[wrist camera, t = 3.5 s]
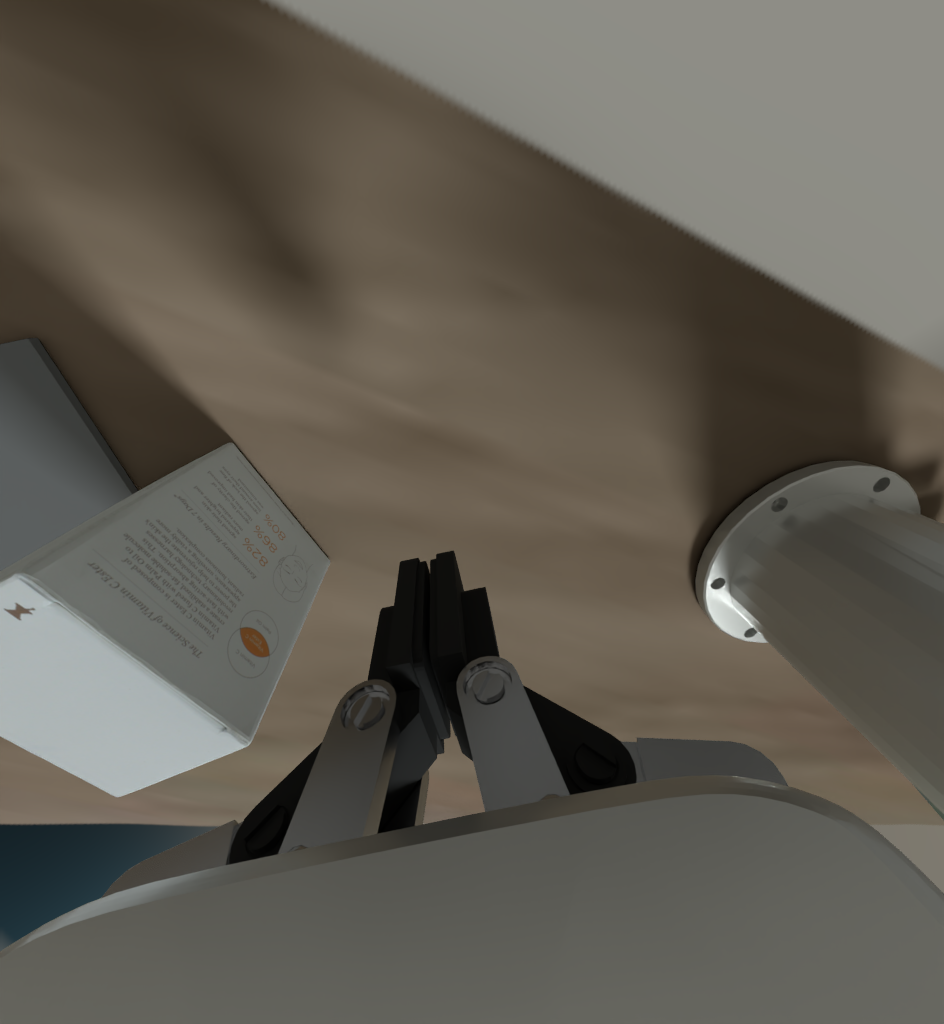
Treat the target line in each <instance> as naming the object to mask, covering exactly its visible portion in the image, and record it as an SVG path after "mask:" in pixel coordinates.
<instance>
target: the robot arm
mask: <svg viewBox="0 0 944 1024" xmlns="http://www.w3.org/2000/svg"><path fill="white" fill-rule="evenodd" d="M920 514H921V509H920V505H919V501H918V498H917V494H916V493H915V491H914V490H913V488H912V487H911V485H910V484H909V482H908V481H906V480H905V479H903V478H902V477H901V476H899V475H898V474H896V473H895V472H892V471H889V470H886V469H884V468H881V467H878V466H875V465H873V464H868V463H863V462H858V461H831V462H825V463H820V464H815V465H811V466H808V467H805V468H802V469H800V470H797V471H794V472H791V473H788V474H787V475H785V476H783V477H781V478H779V479H777V480H775V481H773V482H771V483H769V484H767V485H766V486H764V487H763V488H761V489H760V490H759V491H757V492H756V493H754V494H753V495H751V496H750V497H749V498H747V499H746V500H745V501H744V502H743V503H741V504H740V505H739V506H738V507H737V508H736V509H735V510H734V511H733V512H732V513H730V514H729V515H728V517H727V518H726V519H725V520H724V521H723V523H722V524H721V525H720V526H719V527H718V529H717V530H716V531H715V533H714V534H713V536H712V538H711V539H710V541H709V542H708V544H707V546H706V547H705V549H704V552H703V554H702V557H701V559H700V562H699V564H698V569H697V574H696V580H695V584H696V596H697V599H698V601H699V604H700V607H701V609H702V610H703V611H704V613H705V614H706V615H707V617H708V618H709V619H710V620H711V621H712V622H713V623H714V624H715V625H716V626H717V627H718V628H719V629H720V630H721V631H723V632H725V633H726V634H728V635H730V636H731V637H734V638H737V639H740V640H744V641H751V642H760V643H765V642H768V643H769V644H770V645H771V646H773V647H774V648H775V649H776V650H777V651H778V652H779V653H780V654H781V655H782V656H783V657H784V658H785V659H786V660H787V661H788V662H789V663H790V664H791V665H792V666H793V667H794V668H795V669H796V670H797V671H798V672H799V673H800V674H801V675H802V676H803V677H804V678H805V679H806V680H807V681H808V682H809V683H810V684H811V685H812V686H813V687H814V688H815V689H816V690H817V691H818V692H819V693H820V694H821V695H823V696H824V697H825V698H826V699H827V700H828V701H829V702H830V703H831V704H832V705H833V706H834V707H835V708H836V709H837V710H838V711H839V712H840V713H841V714H842V715H843V716H844V717H845V718H846V719H847V720H848V721H849V722H850V723H851V724H852V725H853V726H854V727H855V728H856V729H857V730H858V731H859V732H860V733H861V734H862V735H863V736H864V737H865V738H866V739H867V740H868V741H869V742H870V743H871V744H873V745H874V746H875V747H876V748H877V749H878V750H879V751H880V752H881V753H882V754H883V755H884V756H885V757H886V758H887V759H888V760H889V761H890V762H891V763H892V764H893V765H894V766H895V767H896V768H897V769H898V770H899V771H900V772H901V773H902V774H903V775H904V776H905V777H906V778H907V779H908V780H909V781H910V782H911V783H912V784H913V785H914V786H915V787H916V788H917V789H918V790H919V791H920V792H921V793H923V794H924V795H925V796H926V797H927V798H928V799H929V800H930V801H931V802H932V803H933V804H934V805H935V806H936V807H937V808H938V809H939V810H940V811H941V812H942V813H943V814H944V524H943V523H940V522H938V521H935V520H933V519H930V518H928V517H925V516H923V515H920ZM450 721H451V724H452V727H453V730H454V733H455V735H456V736H457V739H458V742H459V745H460V748H461V750H462V753H463V754H464V755H466V756H467V757H468V758H470V759H471V760H472V761H473V762H474V766H475V770H476V774H477V778H478V783H479V787H480V791H481V795H482V799H483V804H484V808H485V812H482V813H477V814H472V815H467V816H462V817H457V818H452V819H448V820H443V821H438V822H433V823H428V824H423V820H424V813H425V806H426V799H427V791H428V784H429V771H428V769H429V767H430V766H431V765H432V764H433V762H434V761H435V760H436V759H437V754H441V753H444V739H446V738H450ZM0 1024H944V894H943V892H942V891H941V890H940V889H939V888H938V887H937V886H936V885H935V884H934V883H933V882H932V881H931V880H930V879H929V878H928V877H927V876H926V875H925V874H924V873H923V872H922V871H921V870H920V869H919V868H918V867H916V865H914V864H913V863H912V862H911V861H910V860H909V859H908V858H907V857H906V856H905V855H904V854H903V853H902V852H901V851H900V850H899V849H897V848H896V847H895V846H894V845H893V844H892V843H890V842H889V841H888V840H887V839H886V838H885V837H884V836H883V835H881V834H880V833H879V832H878V831H877V830H875V829H874V828H873V827H871V826H870V825H869V824H867V823H866V822H864V821H863V820H862V819H860V818H859V817H857V816H856V815H855V814H853V813H851V812H850V811H848V810H846V809H844V808H843V807H841V806H839V805H837V804H835V803H833V802H830V801H828V800H826V799H824V798H821V797H819V796H816V795H813V794H810V793H808V792H805V791H802V790H799V789H796V788H793V787H789V786H788V785H787V783H786V781H785V779H784V777H783V776H782V774H781V773H780V772H779V770H778V769H777V767H776V766H775V765H774V763H773V762H772V761H770V760H769V759H768V758H767V757H766V756H764V755H763V754H762V753H761V752H759V751H757V750H755V749H753V748H751V747H749V746H747V745H745V744H741V743H736V742H730V741H706V740H682V739H658V738H637V742H620V741H619V740H618V739H616V738H615V737H614V736H612V735H611V734H609V733H607V732H606V731H604V730H602V729H600V728H599V727H597V726H595V725H593V724H591V723H590V722H588V721H586V720H584V719H582V718H581V717H579V716H577V715H575V714H573V713H572V712H570V711H568V710H566V709H564V708H563V707H561V706H559V705H557V704H556V703H554V702H552V701H550V700H548V699H547V698H545V697H543V696H541V695H539V694H538V693H536V692H534V691H532V690H530V689H529V688H527V687H525V686H523V684H522V682H521V680H520V677H519V675H518V673H517V671H516V669H515V668H514V666H513V665H512V664H511V663H510V662H508V661H507V660H506V659H503V658H500V657H499V651H498V646H497V641H496V636H495V631H494V626H493V621H492V616H491V611H490V607H489V602H488V597H487V592H486V588H485V587H483V588H478V589H473V590H469V591H464V589H463V585H462V581H461V577H460V573H459V569H458V565H457V561H456V557H455V553H454V551H449V552H444V553H439V554H436V559H433V560H431V561H430V572H429V569H428V566H427V563H426V561H423V562H420V560H419V558H415V559H410V560H405V561H401V562H400V566H399V574H398V581H397V588H396V596H395V603H394V606H391V607H386V608H382V609H381V611H380V615H379V620H378V626H377V631H376V637H375V642H374V648H373V653H372V659H371V664H370V670H369V675H368V681H364V682H362V683H360V684H358V685H356V686H355V687H353V688H352V689H351V690H349V691H348V692H347V693H346V694H345V695H344V697H343V698H342V699H341V700H340V702H339V704H338V705H337V707H336V709H335V712H334V714H333V717H332V719H331V722H330V724H329V727H328V729H327V732H326V734H325V737H324V740H323V742H322V743H321V744H320V745H319V746H318V747H317V748H316V749H315V750H314V751H313V752H311V753H310V754H309V755H308V756H307V757H306V758H305V759H304V760H303V761H302V762H301V763H300V764H299V765H298V766H297V767H296V768H295V769H294V770H293V771H292V772H291V773H290V774H289V775H288V776H287V777H286V778H285V779H284V780H283V781H281V782H280V783H279V784H278V785H277V786H276V787H275V788H274V789H273V790H272V791H271V792H270V793H269V794H268V795H267V796H266V797H265V798H264V799H263V800H262V801H261V802H260V803H259V804H258V805H257V806H256V807H255V808H254V809H253V810H252V811H251V812H250V813H249V815H248V816H247V817H246V818H245V819H244V821H243V822H241V823H239V824H238V823H237V822H236V820H233V821H231V822H229V823H226V824H224V825H222V826H220V827H217V828H215V829H213V830H211V831H209V832H207V833H204V834H202V835H200V836H198V837H195V838H193V839H191V840H189V841H187V842H184V843H182V844H180V845H178V846H176V847H173V848H171V849H169V850H167V851H164V852H162V853H160V854H158V855H155V856H153V857H151V858H149V859H147V860H144V861H142V862H140V863H139V864H137V865H135V866H134V867H132V868H131V869H129V870H127V871H126V872H125V873H124V874H123V875H122V876H121V877H120V878H119V879H118V880H116V881H115V882H114V883H113V884H112V885H111V887H110V888H109V889H108V890H107V892H106V893H105V894H104V896H103V897H102V898H101V899H98V900H95V901H93V902H90V903H88V904H85V905H83V906H81V907H79V908H77V909H75V910H72V911H70V912H68V913H66V914H64V915H62V916H60V917H58V918H56V919H54V920H52V921H50V922H48V923H46V924H44V925H43V926H41V927H39V928H38V929H36V930H35V931H33V932H31V933H30V934H28V935H26V936H25V937H23V938H21V939H20V940H18V941H16V942H14V943H13V944H11V945H10V946H8V947H6V948H5V949H4V950H2V951H1V952H0Z"/></svg>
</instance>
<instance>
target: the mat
mask: <svg viewBox="0 0 944 1024" xmlns="http://www.w3.org/2000/svg"><path fill="white" fill-rule="evenodd" d="M137 491H138V490H137V489H136V487H135V486H134V484H133V483H132V481H131V480H130V478H129V476H128V475H127V473H126V472H125V470H124V469H123V467H122V466H121V464H120V463H119V461H118V460H117V458H116V457H115V455H114V454H113V452H112V451H111V449H110V448H109V446H108V445H107V443H106V441H105V440H104V438H103V437H102V435H101V434H100V432H99V431H98V429H97V428H96V426H95V425H94V423H93V422H92V420H91V419H90V417H89V416H88V414H87V413H86V411H85V410H84V408H83V406H82V405H81V403H80V402H79V400H78V399H77V397H76V396H75V394H74V393H73V391H72V390H71V388H70V387H69V385H68V384H67V382H66V381H65V379H64V378H63V376H62V375H61V373H60V371H59V370H58V368H57V367H56V365H55V364H54V362H53V361H52V359H51V358H50V356H49V355H48V353H47V352H46V350H45V349H44V347H43V346H42V344H41V343H40V341H39V339H38V338H28V339H23V340H18V341H13V342H9V343H4V344H0V571H2V570H3V569H5V568H7V567H9V566H10V565H12V564H14V563H15V562H17V561H19V560H20V559H22V558H24V557H26V556H27V555H29V554H31V553H32V552H34V551H36V550H37V549H39V548H41V547H43V546H44V545H46V544H48V543H49V542H51V541H53V540H55V539H56V538H58V537H60V536H61V535H63V534H65V533H66V532H68V531H70V530H72V529H73V528H75V527H77V526H78V525H80V524H82V523H84V522H85V521H87V520H89V519H90V518H92V517H94V516H96V515H97V514H99V513H101V512H103V511H104V510H106V509H108V508H110V507H111V506H113V505H115V504H116V503H118V502H120V501H122V500H123V499H125V498H127V497H129V496H130V495H132V494H134V493H136V492H137Z"/></svg>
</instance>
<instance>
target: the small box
mask: <svg viewBox="0 0 944 1024" xmlns="http://www.w3.org/2000/svg"><path fill="white" fill-rule="evenodd" d="M329 564H330V560H329V559H328V558H327V556H326V555H325V554H324V553H323V552H322V550H321V549H320V548H319V547H318V546H317V544H316V543H315V542H314V541H313V540H312V538H311V537H310V536H309V535H308V534H307V532H306V531H305V530H304V529H303V527H302V526H301V525H300V524H299V522H298V521H297V520H296V519H295V518H294V516H293V515H292V514H291V513H290V512H289V510H288V509H287V508H286V507H285V506H284V504H283V503H282V502H281V501H280V499H279V498H278V497H277V496H276V495H275V493H274V492H273V491H272V490H271V488H270V487H269V486H268V485H267V484H266V482H265V481H264V480H263V479H262V478H261V476H260V475H259V474H258V473H257V472H256V471H255V469H254V468H253V467H252V466H251V464H250V463H249V462H248V461H247V460H246V458H245V457H244V456H243V455H242V453H241V452H240V451H239V450H238V449H237V447H236V446H235V445H234V444H233V443H227V444H225V445H223V446H221V447H219V448H217V449H215V450H213V451H212V452H210V453H208V454H206V455H204V456H202V457H200V458H198V459H196V460H194V461H192V462H190V463H188V464H187V465H185V466H183V467H181V468H179V469H177V470H175V471H174V472H172V473H170V474H168V475H166V476H164V477H163V478H161V479H159V480H157V481H155V482H153V483H152V484H150V485H148V486H146V487H144V488H143V489H141V490H139V491H137V492H136V493H134V494H132V495H130V496H129V497H127V498H125V499H123V500H122V501H120V502H118V503H116V504H115V505H113V506H111V507H110V508H108V509H106V510H104V511H103V512H101V513H99V514H97V515H96V516H94V517H92V518H90V519H89V520H87V521H85V522H84V523H82V524H80V525H78V526H77V527H75V528H73V529H72V530H70V531H68V532H66V533H65V534H63V535H61V536H60V537H58V538H56V539H55V540H53V541H51V542H49V543H48V544H46V545H44V546H43V547H41V548H39V549H37V550H36V551H34V552H32V553H31V554H29V555H27V556H26V557H24V558H22V559H20V560H19V561H17V562H15V563H14V564H12V565H10V566H9V567H7V568H5V569H3V570H2V571H0V736H1V737H3V738H5V739H7V740H8V741H10V742H12V743H14V744H16V745H18V746H20V747H21V748H23V749H25V750H27V751H29V752H31V753H33V754H35V755H37V756H39V757H41V758H43V759H45V760H47V761H49V762H51V763H52V764H54V765H56V766H58V767H60V768H62V769H64V770H65V771H67V772H69V773H71V774H73V775H76V776H77V777H79V778H81V779H83V780H85V781H86V782H88V783H90V784H92V785H94V786H96V787H98V788H100V789H102V790H104V791H105V792H107V793H109V794H111V795H113V796H115V797H120V796H123V795H126V794H129V793H132V792H134V791H137V790H139V789H142V788H145V787H147V786H150V785H152V784H155V783H157V782H160V781H162V780H165V779H167V778H170V777H172V776H175V775H177V774H180V773H182V772H185V771H187V770H190V769H192V768H195V767H197V766H200V765H202V764H205V763H207V762H210V761H212V760H215V759H218V758H220V757H223V756H225V755H228V754H230V753H232V752H235V751H237V750H240V749H242V748H245V747H247V746H248V745H250V743H251V742H252V740H253V737H254V735H255V733H256V731H257V729H258V726H259V724H260V721H261V719H262V717H263V714H264V712H265V710H266V708H267V705H268V703H269V701H270V699H271V696H272V694H273V692H274V690H275V688H276V685H277V683H278V681H279V678H280V676H281V674H282V671H283V669H284V667H285V665H286V663H287V660H288V658H289V656H290V654H291V651H292V649H293V646H294V644H295V642H296V640H297V637H298V635H299V633H300V631H301V628H302V626H303V624H304V621H305V619H306V617H307V614H308V612H309V610H310V608H311V605H312V603H313V601H314V598H315V596H316V594H317V591H318V589H319V587H320V584H321V582H322V580H323V578H324V576H325V573H326V571H327V569H328V566H329Z"/></svg>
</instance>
